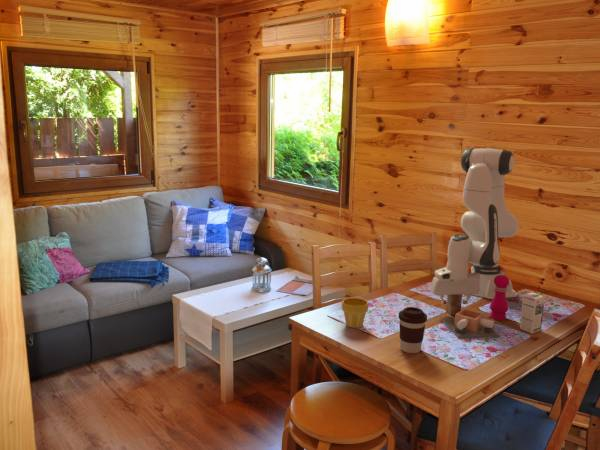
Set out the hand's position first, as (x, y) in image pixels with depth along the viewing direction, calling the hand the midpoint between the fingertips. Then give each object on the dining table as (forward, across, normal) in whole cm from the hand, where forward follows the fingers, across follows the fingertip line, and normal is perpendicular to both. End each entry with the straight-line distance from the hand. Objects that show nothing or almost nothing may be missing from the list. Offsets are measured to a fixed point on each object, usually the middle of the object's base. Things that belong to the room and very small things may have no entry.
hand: (454, 304), depth 220 cm
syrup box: (+4, -24, +19) cm, 31 cm away
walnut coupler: (+4, 0, 0) cm, 4 cm away
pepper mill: (+4, -17, +6) cm, 19 cm away
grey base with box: (+4, 0, +16) cm, 16 cm away
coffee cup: (+5, +29, +32) cm, 44 cm away
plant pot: (+5, +45, +9) cm, 46 cm away
